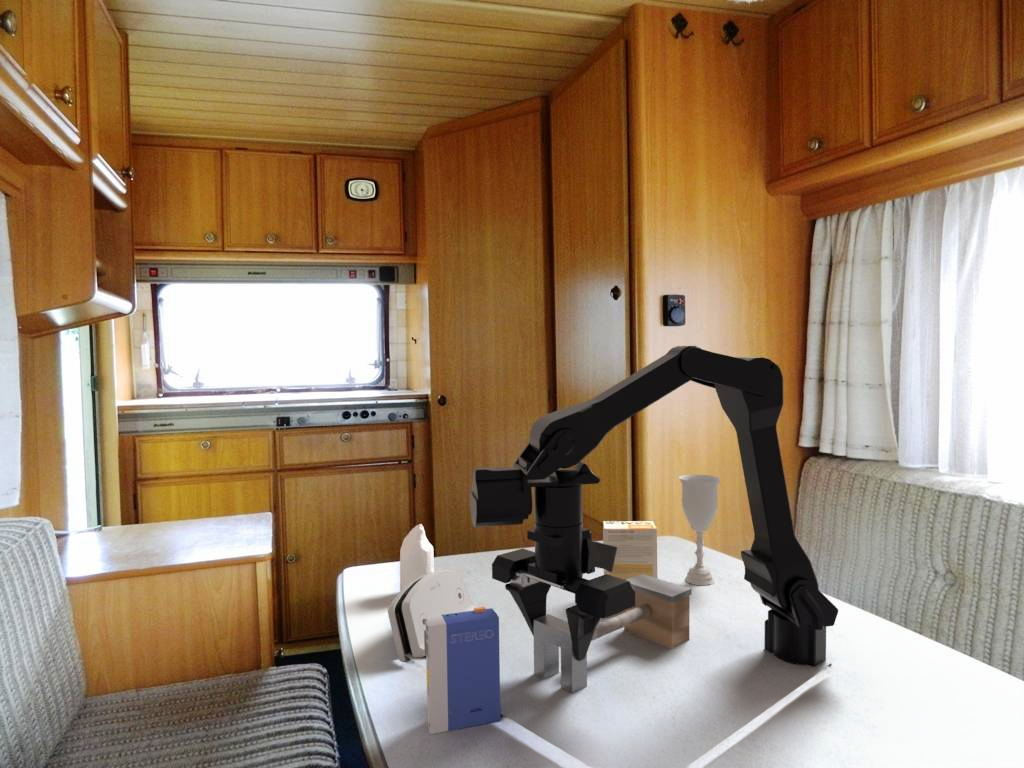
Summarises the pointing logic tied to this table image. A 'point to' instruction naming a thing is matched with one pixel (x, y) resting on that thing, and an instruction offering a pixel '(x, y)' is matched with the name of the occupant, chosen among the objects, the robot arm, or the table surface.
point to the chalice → (699, 518)
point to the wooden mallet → (653, 613)
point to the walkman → (462, 669)
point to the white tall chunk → (415, 556)
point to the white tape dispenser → (425, 608)
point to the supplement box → (632, 548)
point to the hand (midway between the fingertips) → (560, 650)
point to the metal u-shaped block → (557, 653)
